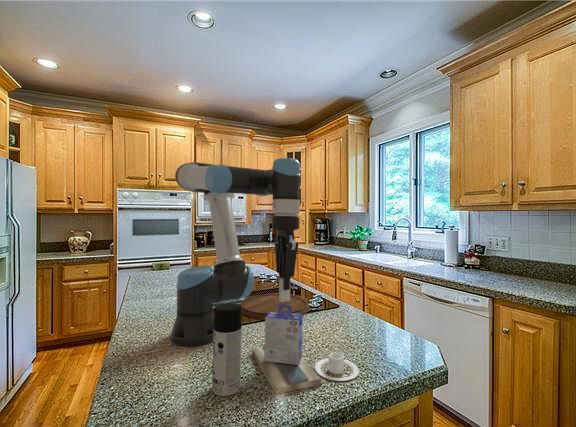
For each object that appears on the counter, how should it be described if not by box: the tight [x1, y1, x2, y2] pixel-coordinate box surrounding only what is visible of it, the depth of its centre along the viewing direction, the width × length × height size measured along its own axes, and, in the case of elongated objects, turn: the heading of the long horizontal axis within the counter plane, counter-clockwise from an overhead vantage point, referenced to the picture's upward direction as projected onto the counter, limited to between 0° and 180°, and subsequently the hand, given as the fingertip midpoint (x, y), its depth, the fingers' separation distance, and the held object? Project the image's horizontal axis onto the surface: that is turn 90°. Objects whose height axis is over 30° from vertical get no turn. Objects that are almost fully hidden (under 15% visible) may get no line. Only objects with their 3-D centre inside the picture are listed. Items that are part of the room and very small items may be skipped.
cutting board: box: [239, 293, 311, 321], centre depth 137 cm, size 32×32×3 cm
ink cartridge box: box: [264, 305, 304, 365], centre depth 84 cm, size 10×6×14 cm, turn 78°
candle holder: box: [314, 352, 360, 382], centre depth 83 cm, size 12×12×4 cm
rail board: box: [251, 343, 322, 395], centre depth 84 cm, size 12×22×2 cm, turn 21°
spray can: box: [211, 303, 243, 398], centre depth 73 cm, size 7×7×20 cm
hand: (284, 300), depth 84 cm, fingers closed
